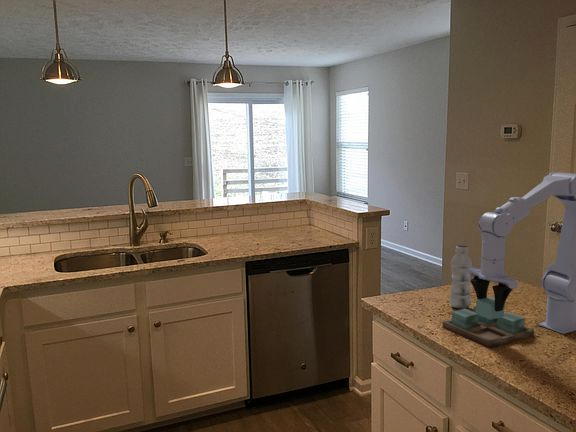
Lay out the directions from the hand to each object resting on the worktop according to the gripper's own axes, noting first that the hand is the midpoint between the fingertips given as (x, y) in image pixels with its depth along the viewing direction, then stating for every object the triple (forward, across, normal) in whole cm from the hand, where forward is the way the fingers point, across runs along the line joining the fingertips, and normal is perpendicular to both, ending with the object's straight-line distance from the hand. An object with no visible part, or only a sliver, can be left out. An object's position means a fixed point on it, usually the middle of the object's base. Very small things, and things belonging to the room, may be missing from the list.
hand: (490, 307), depth 138 cm
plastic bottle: (+9, -22, +12) cm, 27 cm away
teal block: (+2, 0, 0) cm, 2 cm away
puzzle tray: (+9, -4, +4) cm, 11 cm away
